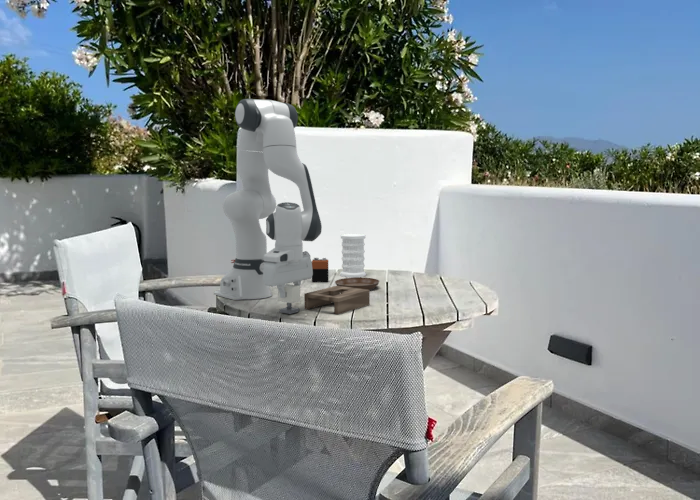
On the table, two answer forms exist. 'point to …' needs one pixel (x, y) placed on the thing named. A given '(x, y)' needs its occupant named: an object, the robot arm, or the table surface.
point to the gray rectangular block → (290, 298)
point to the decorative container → (353, 255)
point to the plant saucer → (358, 283)
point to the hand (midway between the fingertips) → (289, 296)
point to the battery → (320, 270)
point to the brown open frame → (338, 298)
